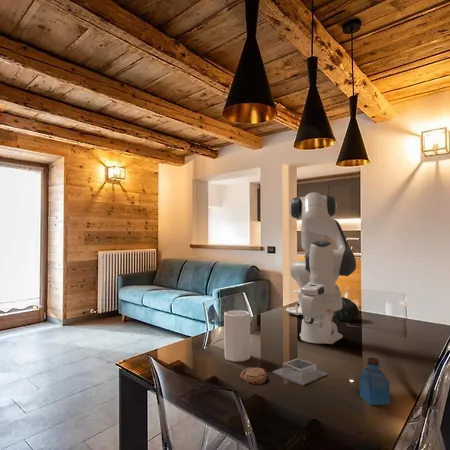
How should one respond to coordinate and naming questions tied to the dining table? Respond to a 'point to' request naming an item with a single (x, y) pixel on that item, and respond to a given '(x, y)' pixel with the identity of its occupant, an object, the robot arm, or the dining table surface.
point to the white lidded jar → (325, 325)
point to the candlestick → (297, 309)
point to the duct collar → (299, 371)
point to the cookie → (254, 375)
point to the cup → (237, 335)
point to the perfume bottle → (374, 384)
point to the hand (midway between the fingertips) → (323, 326)
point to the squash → (347, 311)
